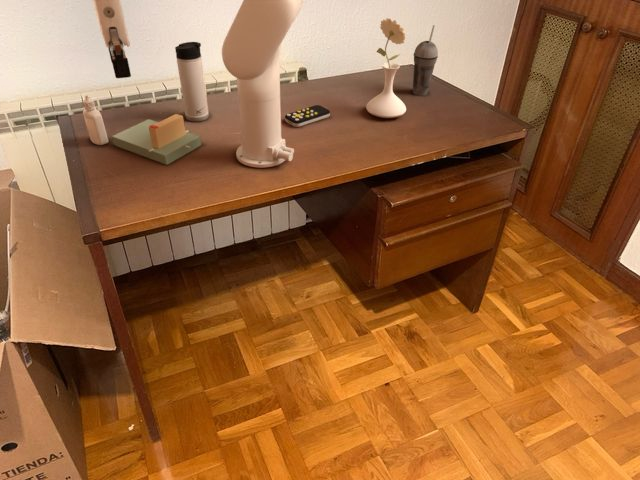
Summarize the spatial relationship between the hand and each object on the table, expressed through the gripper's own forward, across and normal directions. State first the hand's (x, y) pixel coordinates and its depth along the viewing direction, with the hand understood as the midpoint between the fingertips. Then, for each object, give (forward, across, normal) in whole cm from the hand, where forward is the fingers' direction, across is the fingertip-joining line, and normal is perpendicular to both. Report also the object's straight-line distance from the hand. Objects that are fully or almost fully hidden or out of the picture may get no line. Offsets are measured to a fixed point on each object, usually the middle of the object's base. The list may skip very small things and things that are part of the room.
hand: (121, 69), depth 110 cm
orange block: (+16, -5, -7) cm, 19 cm away
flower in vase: (+19, -4, -68) cm, 71 cm away
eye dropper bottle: (+19, +6, +9) cm, 22 cm away
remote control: (+19, 0, -46) cm, 49 cm away
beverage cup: (+19, +6, -86) cm, 88 cm away
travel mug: (+19, +11, -17) cm, 28 cm away
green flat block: (+19, -2, -5) cm, 20 cm away
